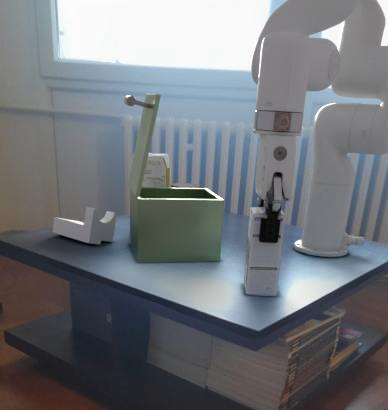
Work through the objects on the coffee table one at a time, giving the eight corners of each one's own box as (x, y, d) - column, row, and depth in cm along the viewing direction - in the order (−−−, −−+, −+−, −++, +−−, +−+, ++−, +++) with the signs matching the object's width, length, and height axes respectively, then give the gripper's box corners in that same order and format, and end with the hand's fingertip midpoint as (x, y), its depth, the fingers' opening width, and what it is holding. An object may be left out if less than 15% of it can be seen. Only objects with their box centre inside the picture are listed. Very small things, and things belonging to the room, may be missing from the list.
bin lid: (149, 95, 103) (124, 87, 101) (161, 95, 90) (131, 86, 89) (131, 185, 110) (107, 179, 108) (139, 197, 97) (111, 190, 96)
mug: (182, 228, 132) (183, 189, 128) (158, 223, 136) (159, 185, 132) (204, 222, 140) (206, 185, 136) (181, 217, 144) (182, 181, 140)
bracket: (111, 246, 117) (117, 213, 115) (88, 243, 111) (94, 208, 110) (75, 235, 124) (80, 204, 122) (52, 232, 118) (56, 199, 117)
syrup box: (277, 296, 89) (288, 214, 82) (244, 295, 89) (252, 212, 82) (273, 286, 94) (283, 207, 88) (242, 284, 94) (249, 205, 88)
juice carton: (162, 239, 121) (164, 156, 113) (128, 235, 123) (128, 153, 115) (170, 232, 128) (173, 153, 120) (138, 229, 129) (138, 150, 121)
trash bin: (203, 243, 120) (207, 188, 114) (219, 261, 107) (224, 200, 101) (130, 244, 116) (129, 186, 110) (137, 262, 103) (137, 199, 97)
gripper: (314, 128, 72) (296, 251, 79) (290, 123, 87) (277, 227, 95) (262, 125, 71) (249, 249, 79) (247, 121, 87) (238, 225, 95)
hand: (265, 236), depth 87 cm, fingers closed on syrup box, 5 cm apart
